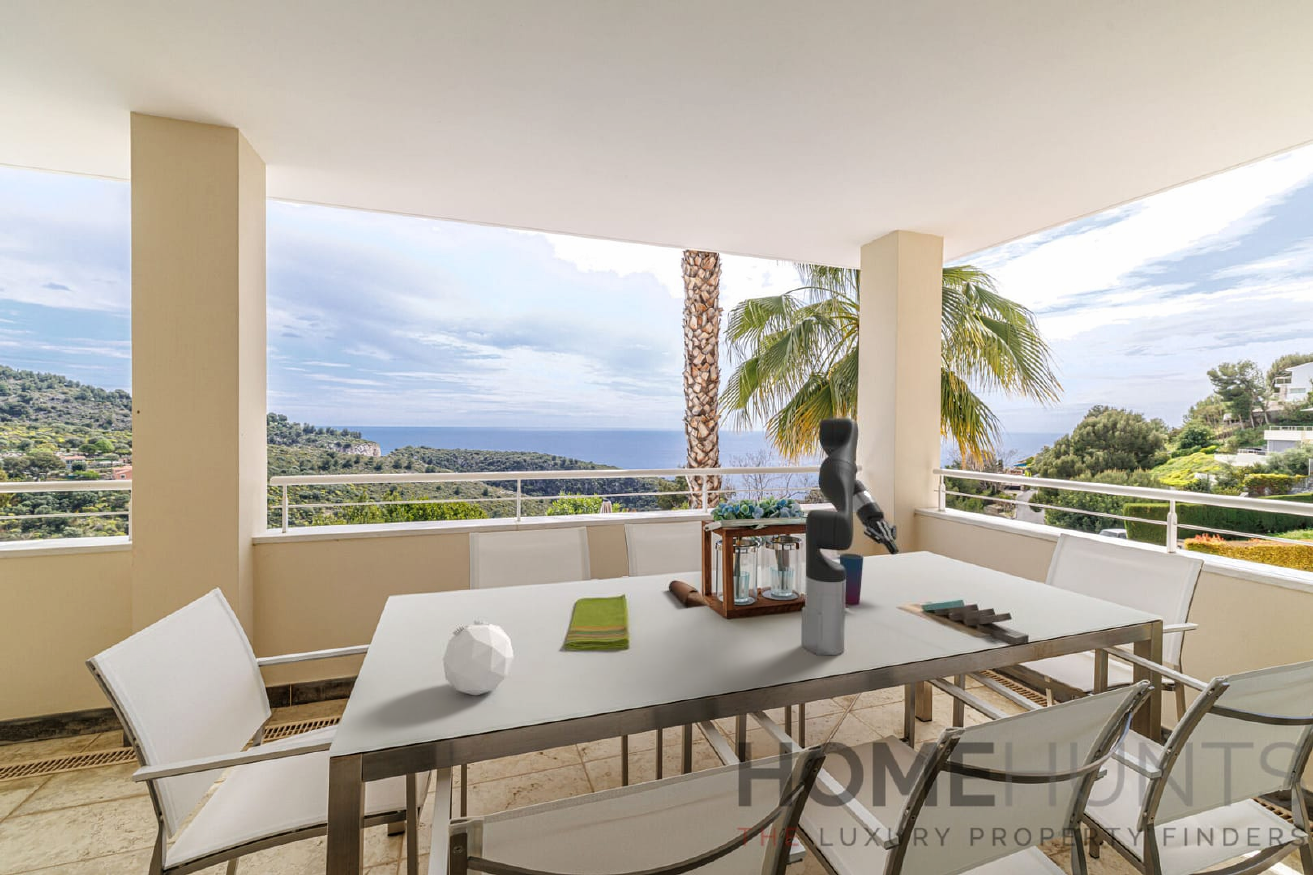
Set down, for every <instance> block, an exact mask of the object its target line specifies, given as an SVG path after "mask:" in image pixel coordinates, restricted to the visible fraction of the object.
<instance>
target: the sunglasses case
mask: <svg viewBox="0 0 1313 875" xmlns="http://www.w3.org/2000/svg"><path fill="white" fill-rule="evenodd" d="M668 590H669V591H670V592H671V593H672V594H674V595H675V596H676V597H677V598H678V600H679V601H680V602H681V603H682V604H683V605H684V606H685V607H686V608H687V609H688V608H699V607H709V606H710V603H709V602H708V600H706V598H704V596H703V595H702V594H701V593H700V592H699V590H698V589H697V588H696V587H694V586H692V585H689V584H688V583H685V582H683V581H681V580H680V581H679V580H671V581H670V582H669V584H668Z"/></svg>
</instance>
